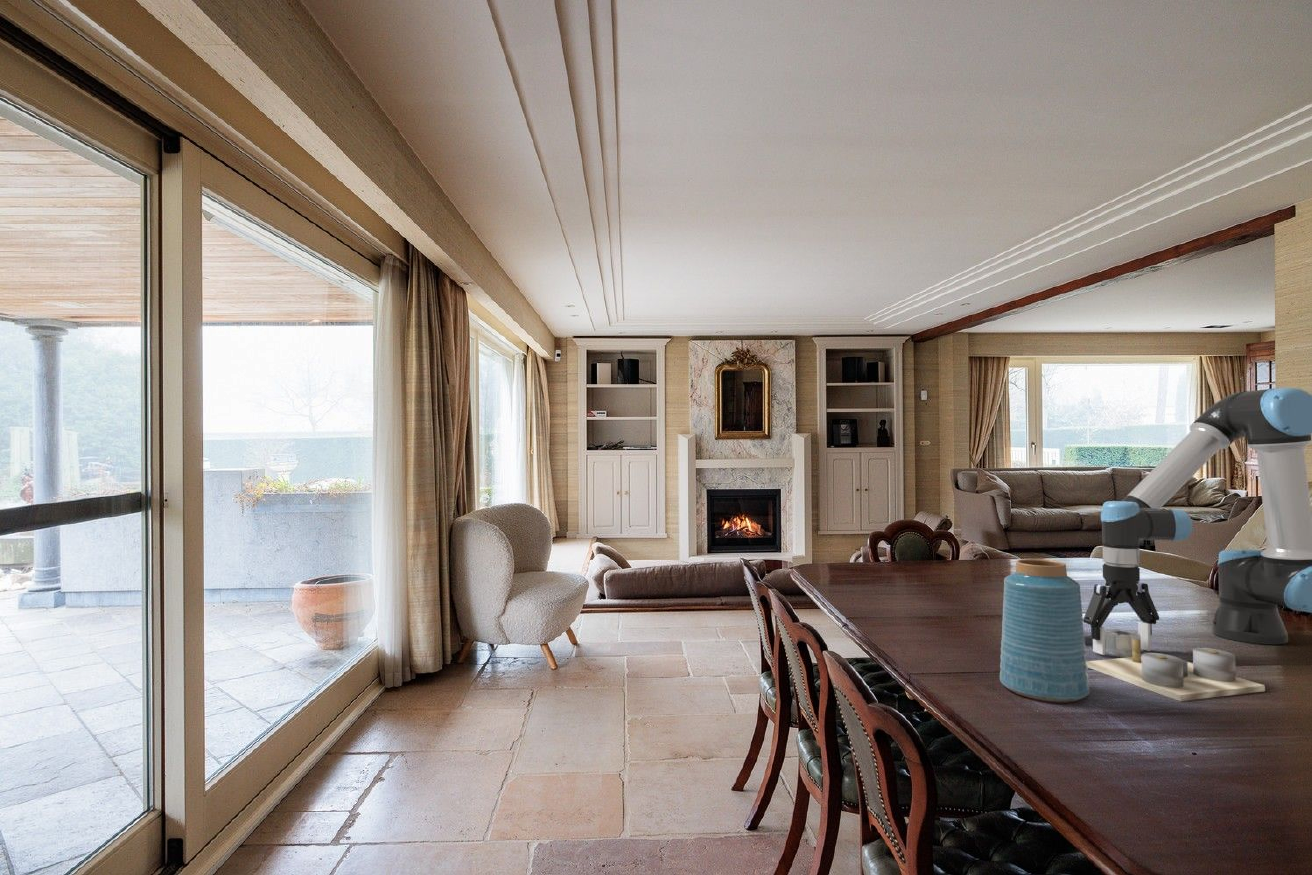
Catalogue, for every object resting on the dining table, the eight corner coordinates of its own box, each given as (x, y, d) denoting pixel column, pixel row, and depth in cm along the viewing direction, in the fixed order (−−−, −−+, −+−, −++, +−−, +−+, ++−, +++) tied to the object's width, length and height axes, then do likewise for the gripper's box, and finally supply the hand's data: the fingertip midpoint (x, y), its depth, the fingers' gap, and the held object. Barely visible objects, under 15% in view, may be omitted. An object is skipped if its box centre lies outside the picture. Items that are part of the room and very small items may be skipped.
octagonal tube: (1121, 648, 169) (1121, 628, 169) (1147, 656, 162) (1147, 635, 162) (1098, 650, 168) (1098, 630, 168) (1124, 658, 161) (1123, 637, 161)
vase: (1077, 681, 146) (1075, 557, 146) (1100, 708, 131) (1097, 571, 131) (994, 673, 151) (992, 554, 152) (1006, 699, 136) (1003, 567, 136)
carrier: (1162, 658, 160) (1162, 631, 160) (1264, 691, 139) (1264, 659, 139) (1086, 666, 155) (1085, 638, 155) (1179, 701, 134) (1178, 668, 134)
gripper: (1147, 559, 172) (1148, 643, 172) (1065, 563, 166) (1066, 650, 166) (1176, 564, 165) (1177, 652, 164) (1091, 569, 159) (1092, 659, 159)
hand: (1121, 651), depth 165 cm, fingers open, 13 cm apart
